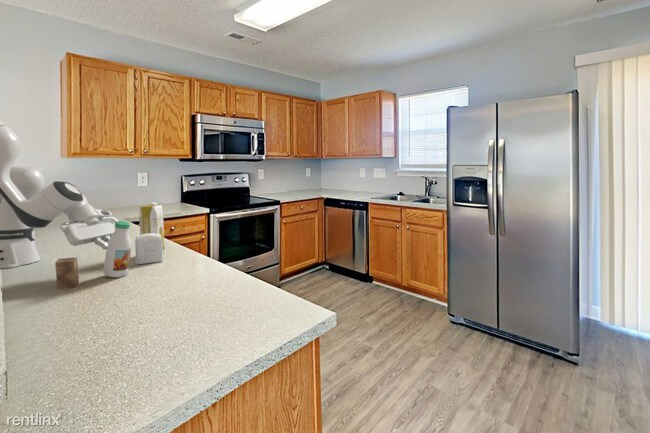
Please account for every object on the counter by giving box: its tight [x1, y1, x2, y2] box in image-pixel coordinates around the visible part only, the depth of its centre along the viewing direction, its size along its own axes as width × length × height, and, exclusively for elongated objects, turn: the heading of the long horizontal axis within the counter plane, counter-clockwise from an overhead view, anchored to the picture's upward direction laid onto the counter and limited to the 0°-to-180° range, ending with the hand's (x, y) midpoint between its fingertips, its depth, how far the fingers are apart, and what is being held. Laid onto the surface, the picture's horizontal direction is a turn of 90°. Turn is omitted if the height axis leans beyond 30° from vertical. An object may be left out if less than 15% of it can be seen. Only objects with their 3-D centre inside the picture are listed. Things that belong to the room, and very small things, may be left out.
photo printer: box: [134, 233, 164, 265], centre depth 147 cm, size 10×4×12 cm, turn 123°
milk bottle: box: [103, 220, 132, 278], centre depth 127 cm, size 8×8×20 cm
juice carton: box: [138, 202, 165, 255], centre depth 156 cm, size 9×8×24 cm
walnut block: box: [54, 257, 80, 290], centre depth 118 cm, size 5×5×9 cm
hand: (108, 247), depth 128 cm, fingers closed
